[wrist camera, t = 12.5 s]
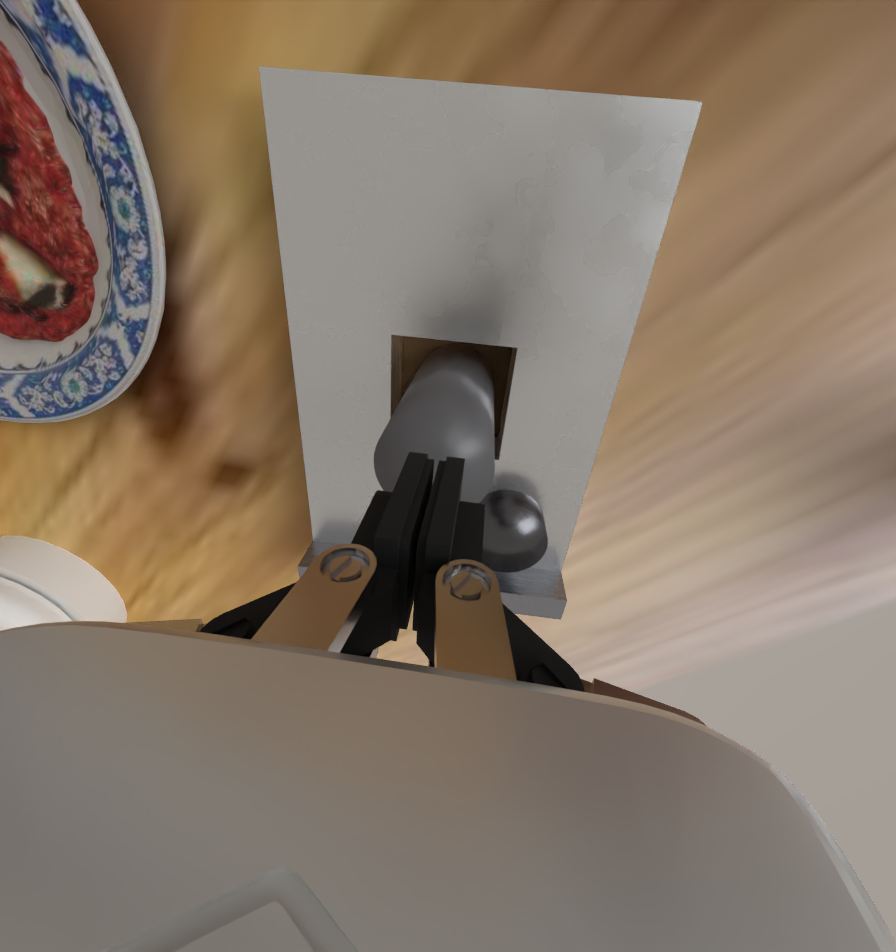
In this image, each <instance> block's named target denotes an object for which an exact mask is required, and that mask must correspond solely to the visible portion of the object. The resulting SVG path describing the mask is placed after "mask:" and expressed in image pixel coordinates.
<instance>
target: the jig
mask: <svg viewBox="0 0 896 952" xmlns="http://www.w3.org/2000/svg"><path fill="white" fill-rule="evenodd" d="M259 73H260V81H261V90H262V99H263V108H264V116H265V125H266V134H267V142H268V151H269V160H270V169H271V177H272V186H273V195H274V204H275V212H276V221H277V230H278V238H279V247H280V256H281V265H282V273H283V282H284V291H285V299H286V308H287V317H288V326H289V334H290V343H291V352H292V361H293V369H294V378H295V387H296V395H297V404H298V413H299V422H300V430H301V439H302V448H303V456H304V465H305V474H306V483H307V491H308V500H309V509H310V518H311V526H312V535H313V542H312V543H311V545H310V547H309V548H308V550H307V552H306V553H305V555H304V557H303V558H302V560H301V562H300V563H299V565H298V570H299V577H300V578H301V576H302V575H303V574H304V573H305V571H306V570H307V569H308V568H309V566H310V565H311V564H312V563H313V561H314V560H315V559H316V558H317V556H319V555H320V554H321V553H322V552H323V551H324V550H326V549H328V548H330V547H332V546H336V545H339V544H348V543H351V542H352V540H353V538H354V536H355V534H356V532H357V530H358V527H359V525H360V523H361V521H362V519H363V517H364V515H365V513H366V511H367V509H368V507H369V505H370V502H371V500H372V498H373V496H374V494H375V492H376V491H377V490H381V491H384V490H383V489H382V488H381V486H380V484H379V482H378V480H377V477H376V474H375V470H374V452H375V448H376V445H377V442H378V440H379V438H380V437H381V435H382V433H383V431H384V429H385V428H386V426H387V424H388V422H389V421H390V419H391V417H392V415H393V414H394V412H395V410H396V408H397V406H398V405H399V403H400V401H401V394H402V351H403V336H409V337H419V338H428V339H438V340H448V341H457V342H467V343H476V344H486V345H495V346H505V347H513V348H512V354H511V360H510V366H509V373H508V379H507V385H506V392H505V398H504V404H503V410H502V417H501V423H500V429H499V436H498V437H495V436H494V444H495V472H494V478H493V483H492V485H491V487H490V490H489V491H488V493H487V495H486V496H485V497H484V498H483V500H482V501H481V502H479V503H480V504H485V517H484V534H483V551H482V564H484V565H485V566H487V567H488V568H490V569H491V570H492V571H493V573H494V574H495V575H496V578H497V580H498V583H499V588H500V594H501V599H502V603H503V604H504V605H505V606H506V607H507V608H508V609H510V610H511V611H512V612H513V613H515V614H523V615H530V616H538V617H546V618H553V619H561V617H562V614H563V611H564V608H565V605H566V602H567V599H566V594H565V589H564V584H563V579H562V575H561V570H562V567H563V563H564V560H565V557H566V553H567V550H568V547H569V543H570V540H571V537H572V534H573V530H574V527H575V524H576V520H577V517H578V514H579V510H580V507H581V504H582V500H583V497H584V494H585V491H586V487H587V484H588V481H589V477H590V474H591V471H592V467H593V464H594V461H595V457H596V454H597V451H598V448H599V444H600V441H601V438H602V434H603V431H604V428H605V424H606V421H607V418H608V415H609V411H610V408H611V405H612V401H613V398H614V395H615V391H616V388H617V385H618V381H619V378H620V375H621V372H622V368H623V365H624V362H625V358H626V355H627V352H628V348H629V345H630V342H631V339H632V335H633V332H634V329H635V325H636V322H637V319H638V315H639V312H640V309H641V305H642V302H643V299H644V296H645V292H646V289H647V286H648V282H649V279H650V276H651V272H652V269H653V266H654V263H655V259H656V256H657V253H658V249H659V246H660V243H661V239H662V236H663V233H664V229H665V226H666V223H667V220H668V216H669V213H670V210H671V206H672V203H673V200H674V196H675V193H676V190H677V187H678V183H679V180H680V177H681V173H682V170H683V167H684V163H685V160H686V157H687V153H688V150H689V147H690V144H691V140H692V137H693V134H694V130H695V127H696V124H697V120H698V117H699V114H700V111H701V107H702V104H703V102H702V101H689V100H677V99H664V98H651V97H639V96H626V95H613V94H601V93H588V92H575V91H563V90H550V89H538V88H525V87H512V86H500V85H487V84H474V83H462V82H449V81H436V80H424V79H411V78H399V77H386V76H373V75H361V74H348V73H335V72H323V71H310V70H298V69H285V68H272V67H260V66H259Z"/></svg>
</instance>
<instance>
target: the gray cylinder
mask: <svg viewBox="0 0 896 952" xmlns="http://www.w3.org/2000/svg"><path fill="white" fill-rule="evenodd" d="M409 452H416V453H424V454H428V459H434V472H433V482H434V478H435V474H436V471H437V467H438V463H439V460H442V461H446V458H447V456H448V457H456V458H464V459H465V464H464V473H463V481H462V490H461V498H460V501H465V502H473V503H479V502H481V501H482V500H483V498H484V497H485V496H486V495H487V493H488V491H489V490H490V487H491V485H492V483H493V478H494V472H495V444H494V378H493V373H492V370H491V367H490V365H489V363H488V362H487V360H486V359H485V358H484V357H483V356H482V355H481V354H480V353H479V352H478V351H476V350H475V349H473V348H471V347H468V346H465V345H460V344H449V345H444V346H441V347H439V348H437V349H435V350H433V351H432V352H431V353H430V354H429V355H428V356H426V358H425V359H424V360H423V362H422V364H421V366H420V367H419V369H418V371H417V373H416V374H415V376H414V378H413V380H412V382H411V383H410V385H409V387H408V389H407V390H406V392H405V394H404V396H403V398H402V399H401V401H400V403H399V405H398V406H397V408H396V410H395V412H394V414H393V415H392V417H391V419H390V421H389V422H388V424H387V426H386V428H385V429H384V431H383V433H382V435H381V437H380V438H379V440H378V442H377V445H376V448H375V452H374V470H375V474H376V477H377V480H378V482H379V484H380V486H381V488H382V489H383V490H384V491H388V492H393V490H394V487H395V485H396V482H397V480H398V477H399V475H400V473H401V470H402V468H403V465H404V463H405V461H406V458H407V456H408V453H409Z"/></svg>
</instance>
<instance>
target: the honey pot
mask: <svg viewBox="0 0 896 952" xmlns="http://www.w3.org/2000/svg"><path fill="white" fill-rule="evenodd" d="M126 619H127V612H126V608H125V605H124V601H123V600H122V598H121V597H120V595H119V593H118V592H117V590H116V589H115V587H114V586H113V585H112V584H111V583H110V582H109V581H108V580H107V579H106V578H105V577H104V576H103V575H102V574H101V573H100V572H99V571H97V570H96V569H95V568H94V567H92V566H91V565H90V564H88V563H87V562H86V561H84V560H83V559H81V558H79V557H77V556H76V555H74V554H72V553H70V552H69V551H67V550H65V549H63V548H60V547H58V546H55V545H53V544H50V543H48V542H45V541H42V540H38V539H34V538H29V537H25V536H8V535H4V536H0V631H1V630H5V629H10V628H15V627H22V626H28V625H34V624H40V623H52V622H68V621H105V622H117V623H126Z"/></svg>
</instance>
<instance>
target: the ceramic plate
mask: <svg viewBox="0 0 896 952" xmlns="http://www.w3.org/2000/svg"><path fill="white" fill-rule="evenodd" d="M165 285H166V257H165V242H164V235H163V227H162V220H161V213H160V209H159V204H158V199H157V195H156V190H155V185H154V181H153V178H152V174H151V171H150V168H149V164H148V161H147V158H146V154H145V151H144V148H143V144H142V141H141V138H140V134H139V131H138V128H137V125H136V123H135V121H134V118H133V116H132V113H131V111H130V109H129V106H128V104H127V102H126V99H125V97H124V94H123V92H122V90H121V87H120V85H119V83H118V80H117V78H116V75H115V73H114V71H113V68H112V66H111V64H110V62H109V60H108V58H107V56H106V54H105V52H104V50H103V48H102V46H101V44H100V42H99V40H98V38H97V36H96V34H95V32H94V31H93V29H92V27H91V25H90V23H89V21H88V19H87V18H86V16H85V14H84V12H83V11H82V9H81V7H80V6H79V4H78V2H77V0H0V420H3V421H12V422H24V423H48V422H60V421H65V420H71V419H74V418H78V417H81V416H84V415H87V414H89V413H91V412H93V411H95V410H97V409H99V408H101V407H103V406H105V405H107V404H108V403H110V402H111V401H113V400H114V399H116V398H117V397H118V396H119V395H121V394H122V393H123V392H124V391H125V390H126V389H127V388H128V387H129V386H130V385H131V384H132V383H133V381H134V380H135V379H136V378H137V377H138V375H139V374H140V373H141V371H142V369H143V368H144V366H145V364H146V362H147V361H148V359H149V357H150V355H151V352H152V350H153V347H154V345H155V343H156V340H157V336H158V332H159V328H160V324H161V320H162V316H163V312H164V301H165Z"/></svg>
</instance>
